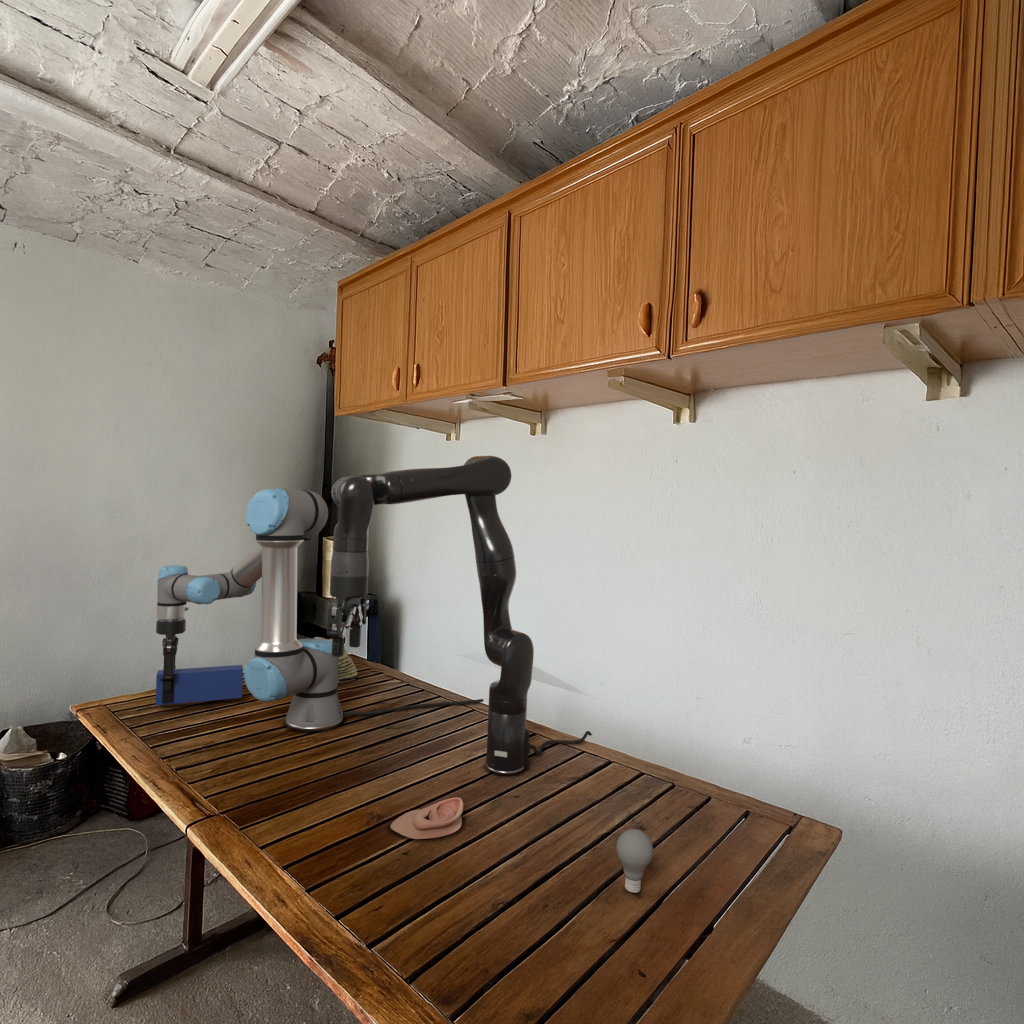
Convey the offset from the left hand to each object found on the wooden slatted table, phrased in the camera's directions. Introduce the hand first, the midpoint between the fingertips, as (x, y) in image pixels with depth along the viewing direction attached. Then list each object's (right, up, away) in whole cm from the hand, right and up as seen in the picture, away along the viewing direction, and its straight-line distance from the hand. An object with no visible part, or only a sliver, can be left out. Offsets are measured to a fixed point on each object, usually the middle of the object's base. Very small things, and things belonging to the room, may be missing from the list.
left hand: (168, 699), depth 183 cm
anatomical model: (+83, -7, -59) cm, 102 cm away
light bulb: (+120, -9, -78) cm, 143 cm away
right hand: (+65, +25, -53) cm, 88 cm away
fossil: (+37, -4, +32) cm, 49 cm away
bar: (+7, -1, +4) cm, 8 cm away
